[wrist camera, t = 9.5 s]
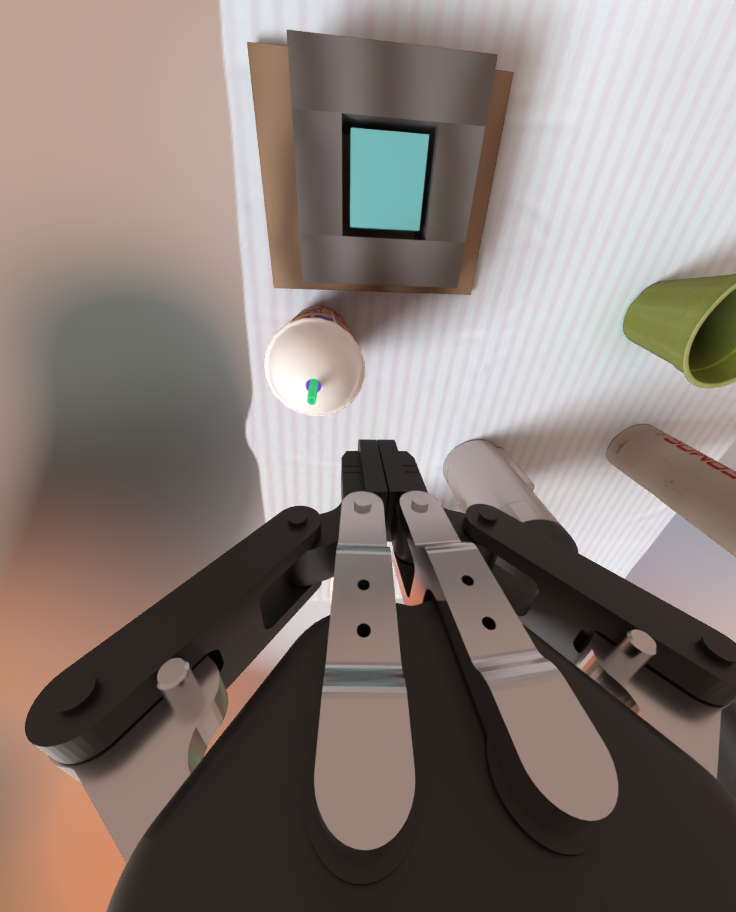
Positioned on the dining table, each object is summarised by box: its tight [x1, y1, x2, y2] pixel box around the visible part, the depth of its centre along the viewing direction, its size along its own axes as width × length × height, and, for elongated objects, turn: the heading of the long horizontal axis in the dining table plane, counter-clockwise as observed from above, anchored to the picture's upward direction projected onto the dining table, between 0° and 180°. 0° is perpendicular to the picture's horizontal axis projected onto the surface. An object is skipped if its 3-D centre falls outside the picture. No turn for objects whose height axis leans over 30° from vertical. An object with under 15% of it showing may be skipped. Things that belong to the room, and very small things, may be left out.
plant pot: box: [623, 274, 736, 388], centre depth 36 cm, size 12×12×11 cm
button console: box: [247, 30, 514, 295], centre depth 29 cm, size 22×17×6 cm
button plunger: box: [348, 128, 429, 233], centre depth 28 cm, size 6×6×4 cm
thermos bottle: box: [607, 424, 736, 557], centre depth 40 cm, size 8×8×28 cm
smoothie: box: [264, 306, 365, 416], centre depth 30 cm, size 8×8×20 cm
